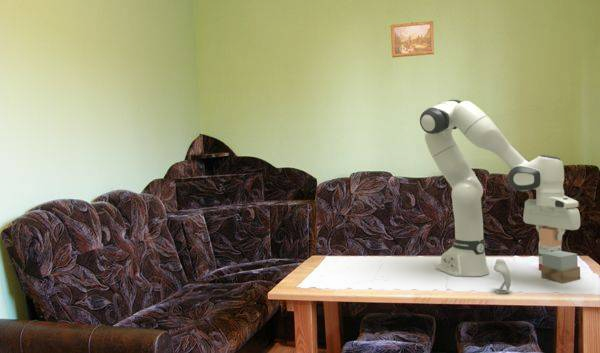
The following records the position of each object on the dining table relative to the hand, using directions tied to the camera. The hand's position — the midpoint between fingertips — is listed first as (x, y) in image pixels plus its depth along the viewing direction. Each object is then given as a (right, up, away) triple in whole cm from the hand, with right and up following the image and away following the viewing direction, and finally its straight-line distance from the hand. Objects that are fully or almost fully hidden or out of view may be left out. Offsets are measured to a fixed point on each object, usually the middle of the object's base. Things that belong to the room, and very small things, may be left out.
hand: (550, 239), depth 173 cm
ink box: (+13, -16, +26) cm, 33 cm away
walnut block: (+10, -17, +12) cm, 23 cm away
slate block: (+10, -12, +12) cm, 20 cm away
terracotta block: (0, -2, 0) cm, 2 cm away
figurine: (-17, -19, 0) cm, 26 cm away
